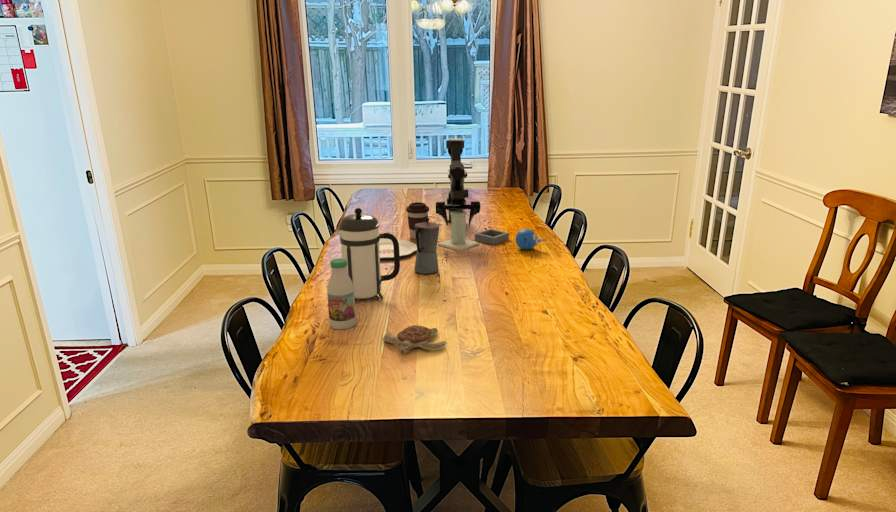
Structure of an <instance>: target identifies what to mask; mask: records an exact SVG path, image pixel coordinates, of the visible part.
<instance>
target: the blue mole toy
mask: <svg viewBox="0 0 896 512" xmlns="http://www.w3.org/2000/svg"><path fill="white" fill-rule="evenodd" d="M545 241H546V239H545V238H540V237H537V233H536V232H535V231H533V230H532V229H530V228H529V229H528V228H522V229H520V230H519V231H518V232H517V233H516V235H515V243H516V245H517V247H518V248H519V249H521V250H526V251H528V250H531V249H532V248H535V246H537V245H538V244H540V243H543V242H545Z"/></svg>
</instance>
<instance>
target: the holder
mask: <svg viewBox="0 0 896 512" xmlns="http://www.w3.org/2000/svg"><path fill="white" fill-rule="evenodd" d="M508 240H510V233H509V232H506V231H503V230H498V229H493V228H488V229H485V230H481V231H478V232H476V233H474V241H476V242H480V243H484V244H489V245H493V246H494V245H498V244H501V243H503V242H505V241H508Z"/></svg>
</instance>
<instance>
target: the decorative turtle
mask: <svg viewBox="0 0 896 512" xmlns="http://www.w3.org/2000/svg"><path fill="white" fill-rule="evenodd" d="M438 332H439V331H438V328H436V327H431V328H429V327H426V326H423V325H418V324H415V325H409V326H407V327H406V328H404V329H403V330H401V331H400V332H398V333H397V336H392V334H391V332H390V331H388V332H386V333H385V334H384V336H383V338H382V339H383V341H384V342H387V343H390V344H394V345H398V344H399V352H400V354H404V355H405V354H407V353H409V352H410V351H411V350H413V349H417V348H420V349H424V350H440V349H443V348H444V347H445V346H446V345H447V341H445V340H440V341H438V342H430V340H429V339H430V338H431V336H432V335H436V334H437V333H438Z"/></svg>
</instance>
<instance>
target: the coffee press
mask: <svg viewBox="0 0 896 512" xmlns="http://www.w3.org/2000/svg"><path fill="white" fill-rule="evenodd" d="M379 227H380V221H378V219H377V217H376V216H374V215H372V214H369V213H363V210H362V209H361V208H360V207H357V208H355V209H354V214H348V215H346V216H344V217H343V218H342V219H341V220H340V221H339V224H338V227H337V229H336V230H335V232H334V236H339V243H340V246H341V247H340V249H341V258H342V259H346V261H347V268H346V270H347V273H348V275H349V277H350V279H351V281H352V283H353V287H354V296H355V301H356V300H357V299H362V300H363V299H370V298H373V297H374V298H375V299H376V300H377V301H379V302H380V301H383V300H384V296H383V294H382V293H381V291H382V282H385V281H391V280H393V279H395V278H396V277H397V276H398V275H399V272H400V269H401V268H400V267H401V266H400V265H401V260H400V258H401V257H400V253H399V243H398V240H397V239H398V238H397V237H396V236H395V235H394V234H392V233H389V232H383V233H380V232H379ZM380 239H390V240H391V241H392V242H393V247H394V250H393V252H394V259H393V264H394V265H393V266H394V267H393V270H392V272H391V273H389V274H384V275H382V274H381V273H382V272H381V259H380V253H381V252H380V250H379V241H380Z"/></svg>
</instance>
